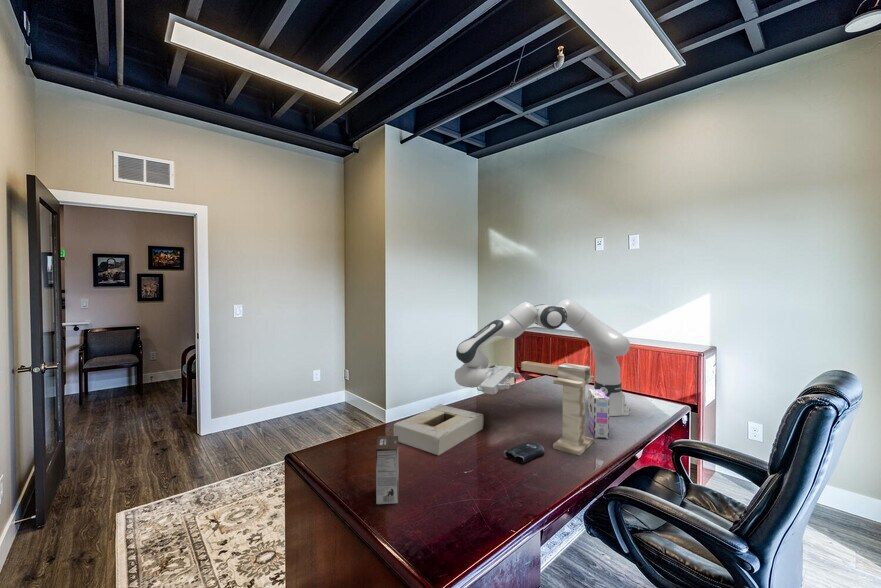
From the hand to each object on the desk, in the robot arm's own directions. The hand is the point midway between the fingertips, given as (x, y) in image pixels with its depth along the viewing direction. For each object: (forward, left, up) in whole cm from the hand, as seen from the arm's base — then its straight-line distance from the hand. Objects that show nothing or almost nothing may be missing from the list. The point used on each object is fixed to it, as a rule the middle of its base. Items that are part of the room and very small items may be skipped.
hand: (514, 381), depth 163 cm
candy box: (-20, +28, -21) cm, 40 cm away
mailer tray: (-1, +12, +6) cm, 14 cm away
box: (+24, -21, -21) cm, 39 cm away
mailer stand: (-1, +25, -21) cm, 33 cm away
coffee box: (+68, -4, -21) cm, 72 cm away
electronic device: (+18, +15, -21) cm, 32 cm away
